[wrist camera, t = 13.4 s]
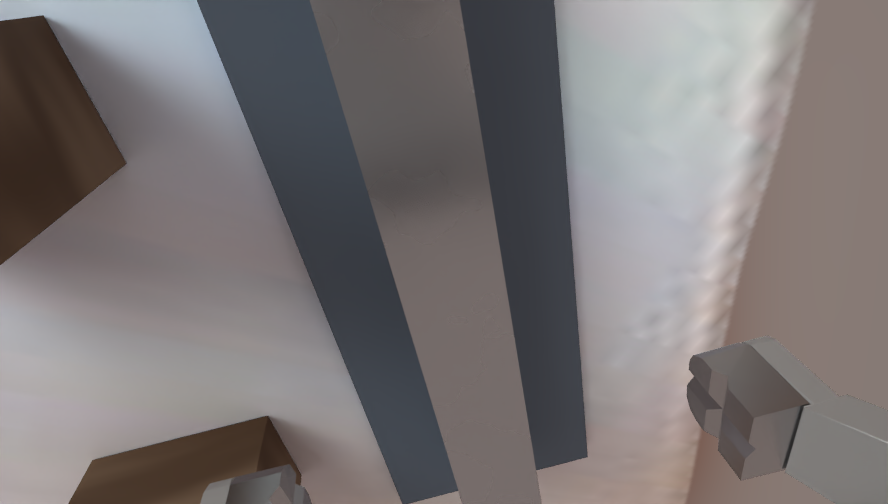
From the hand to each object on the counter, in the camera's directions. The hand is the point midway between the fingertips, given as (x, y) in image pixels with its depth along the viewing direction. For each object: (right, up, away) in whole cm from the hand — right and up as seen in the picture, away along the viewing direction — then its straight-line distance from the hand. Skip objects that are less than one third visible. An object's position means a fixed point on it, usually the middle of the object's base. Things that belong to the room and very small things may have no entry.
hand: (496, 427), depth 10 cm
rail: (-1, +3, +7) cm, 8 cm away
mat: (-1, +3, +8) cm, 8 cm away
